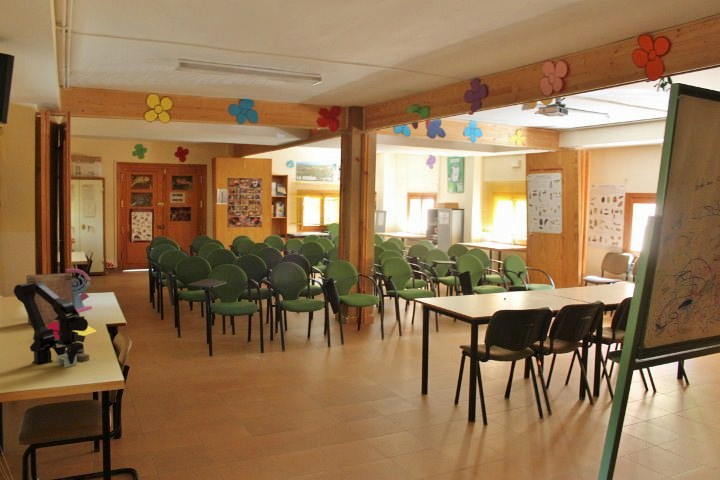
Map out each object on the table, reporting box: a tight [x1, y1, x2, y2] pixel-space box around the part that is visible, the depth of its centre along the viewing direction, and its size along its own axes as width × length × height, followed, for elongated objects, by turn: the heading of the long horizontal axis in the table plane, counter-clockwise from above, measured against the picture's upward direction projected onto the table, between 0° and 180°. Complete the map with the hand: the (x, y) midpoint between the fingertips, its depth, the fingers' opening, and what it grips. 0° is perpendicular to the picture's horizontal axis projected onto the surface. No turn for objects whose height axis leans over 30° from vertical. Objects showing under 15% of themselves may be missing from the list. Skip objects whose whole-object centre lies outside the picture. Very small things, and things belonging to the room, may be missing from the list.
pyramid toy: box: [31, 320, 97, 340], centre depth 338 cm, size 25×25×14 cm
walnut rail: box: [76, 352, 90, 363], centre depth 286 cm, size 3×10×2 cm, turn 57°
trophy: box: [65, 268, 93, 314], centre depth 407 cm, size 20×17×30 cm
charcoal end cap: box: [65, 348, 85, 354], centre depth 289 cm, size 6×7×4 cm
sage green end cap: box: [56, 354, 78, 368], centre depth 277 cm, size 6×7×4 cm
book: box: [26, 272, 73, 326], centre depth 374 cm, size 25×9×30 cm, turn 119°
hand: (67, 362), depth 277 cm, fingers open, 7 cm apart
